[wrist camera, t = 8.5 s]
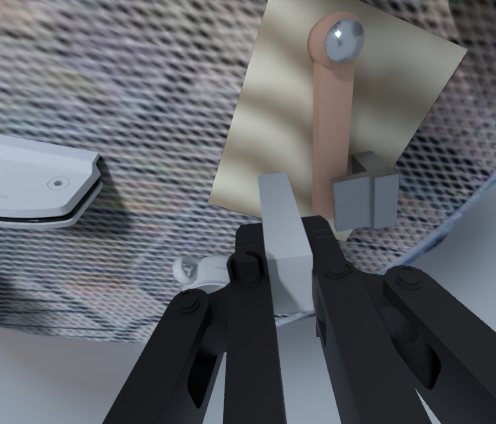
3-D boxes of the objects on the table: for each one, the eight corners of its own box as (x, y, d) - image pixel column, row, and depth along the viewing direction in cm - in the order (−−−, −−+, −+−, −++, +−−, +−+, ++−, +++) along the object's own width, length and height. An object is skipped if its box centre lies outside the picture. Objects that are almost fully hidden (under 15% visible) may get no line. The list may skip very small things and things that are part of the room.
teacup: (264, 282, 46) (267, 323, 40) (207, 302, 49) (201, 344, 42) (225, 219, 40) (221, 255, 33) (162, 245, 42) (146, 283, 35)
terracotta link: (307, 18, 27) (315, 15, 24) (352, 12, 27) (367, 8, 24) (307, 206, 38) (313, 221, 35) (340, 203, 38) (348, 217, 34)
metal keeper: (319, 161, 35) (335, 186, 29) (371, 150, 34) (399, 173, 28) (323, 204, 38) (338, 235, 32) (371, 195, 37) (396, 225, 31)
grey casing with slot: (102, 153, 35) (63, 215, 28) (109, 179, 38) (76, 240, 32) (-44, 126, 33) (-121, 185, 27) (-22, 156, 37) (-85, 215, 30)
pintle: (332, 13, 24) (337, 11, 22) (365, 27, 24) (371, 26, 23) (316, 54, 25) (319, 55, 24) (347, 67, 26) (352, 68, 24)
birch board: (278, -34, 26) (278, -36, 25) (463, 49, 29) (468, 49, 29) (208, 200, 38) (207, 203, 38) (343, 239, 42) (345, 241, 41)
